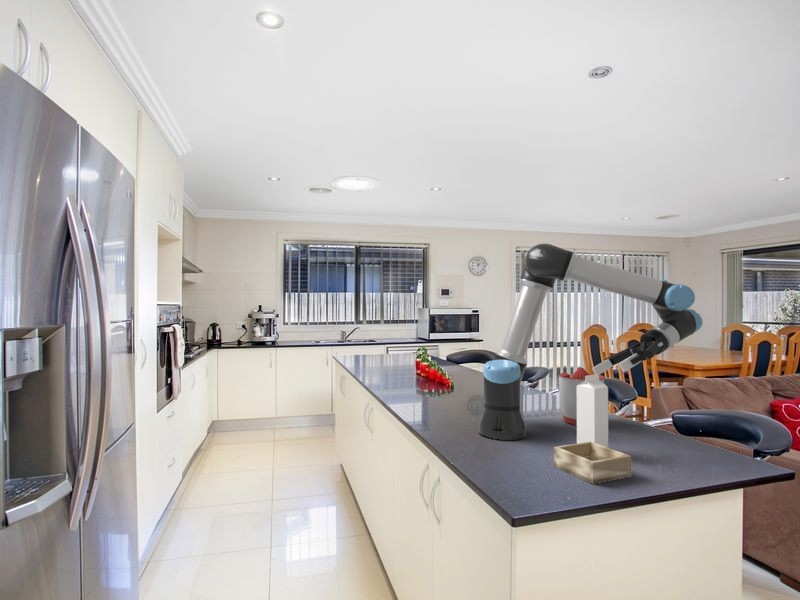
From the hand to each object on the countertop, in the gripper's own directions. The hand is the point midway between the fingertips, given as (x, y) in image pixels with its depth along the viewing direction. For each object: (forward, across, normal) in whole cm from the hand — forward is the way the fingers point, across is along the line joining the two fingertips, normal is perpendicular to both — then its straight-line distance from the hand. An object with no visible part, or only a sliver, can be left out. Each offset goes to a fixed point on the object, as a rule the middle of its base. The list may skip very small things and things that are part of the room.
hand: (607, 370), depth 132 cm
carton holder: (+28, -14, -16) cm, 35 cm away
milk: (+18, -1, -17) cm, 25 cm away
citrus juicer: (+1, +30, -17) cm, 35 cm away
